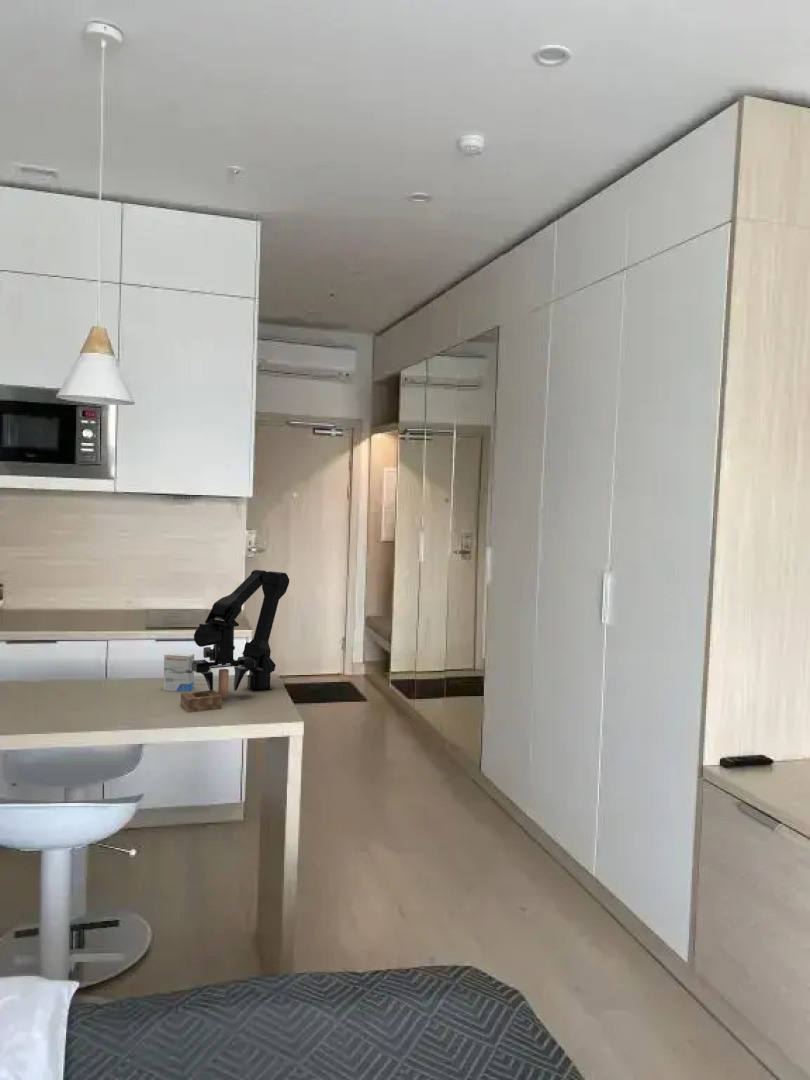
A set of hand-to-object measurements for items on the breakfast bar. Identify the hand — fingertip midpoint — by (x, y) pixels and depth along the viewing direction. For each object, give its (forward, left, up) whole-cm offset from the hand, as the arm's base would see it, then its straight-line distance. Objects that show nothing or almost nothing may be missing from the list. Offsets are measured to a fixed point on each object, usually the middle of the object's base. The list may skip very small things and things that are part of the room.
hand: (223, 691), depth 260 cm
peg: (0, 0, -2) cm, 2 cm away
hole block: (+9, +7, -2) cm, 11 cm away
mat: (0, 0, -2) cm, 3 cm away
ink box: (+9, -17, -3) cm, 19 cm away
